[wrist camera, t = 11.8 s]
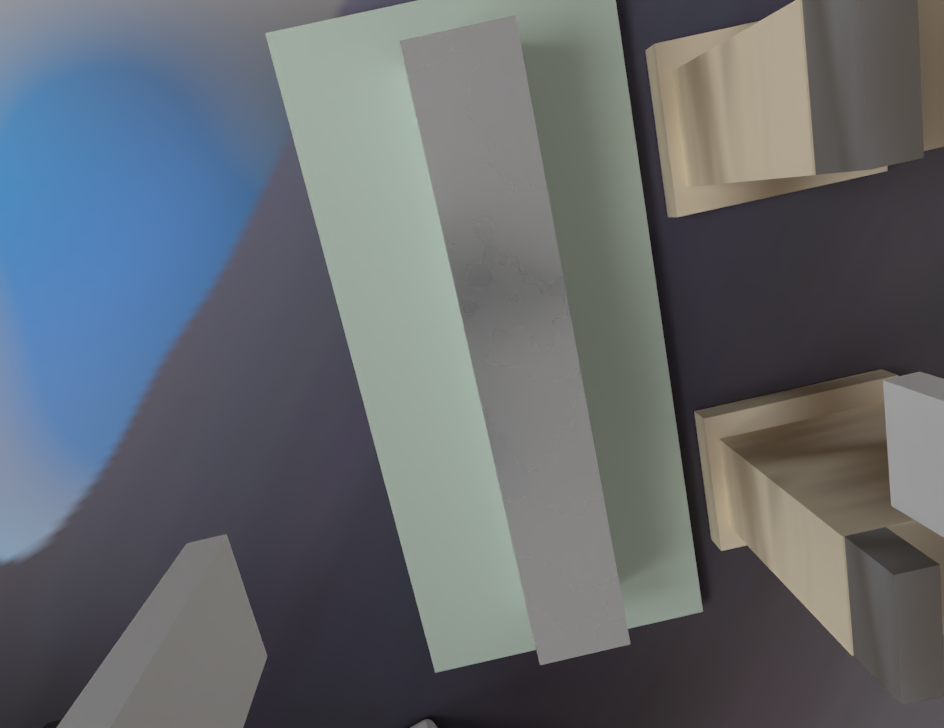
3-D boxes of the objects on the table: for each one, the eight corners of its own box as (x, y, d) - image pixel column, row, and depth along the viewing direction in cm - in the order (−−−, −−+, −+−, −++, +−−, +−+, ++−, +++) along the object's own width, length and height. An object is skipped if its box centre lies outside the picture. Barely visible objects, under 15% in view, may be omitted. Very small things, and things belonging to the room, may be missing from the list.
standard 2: (667, 217, 25) (848, 222, 14) (645, 50, 23) (827, -85, 13) (869, 172, 25) (1201, 143, 14) (859, 4, 23) (1220, -169, 13)
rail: (606, 591, 28) (630, 644, 24) (526, 609, 28) (540, 665, 24) (502, 44, 22) (515, 15, 19) (403, 66, 22) (399, 40, 19)
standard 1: (711, 539, 28) (883, 740, 17) (693, 410, 27) (870, 544, 16) (888, 498, 28) (1168, 674, 18) (881, 369, 27) (1181, 474, 16)
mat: (435, 663, 29) (435, 672, 28) (269, 37, 22) (265, 33, 22) (697, 603, 29) (703, 611, 28) (605, -35, 23) (609, -41, 22)
